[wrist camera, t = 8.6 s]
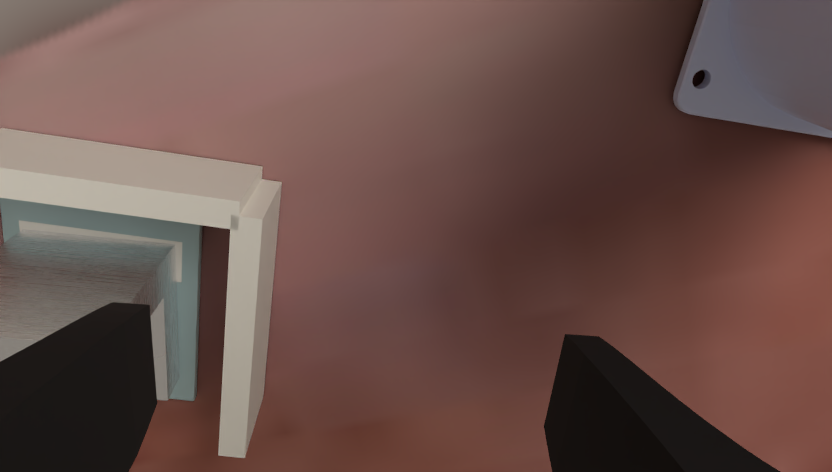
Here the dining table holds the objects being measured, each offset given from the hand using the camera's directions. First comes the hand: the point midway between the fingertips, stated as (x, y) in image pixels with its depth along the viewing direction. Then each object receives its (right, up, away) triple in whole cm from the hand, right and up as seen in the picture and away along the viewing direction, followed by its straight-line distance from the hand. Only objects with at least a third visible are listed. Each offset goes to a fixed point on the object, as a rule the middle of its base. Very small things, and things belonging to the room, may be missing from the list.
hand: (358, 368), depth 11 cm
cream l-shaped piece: (-8, +1, +9) cm, 12 cm away
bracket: (-9, 0, +9) cm, 13 cm away
